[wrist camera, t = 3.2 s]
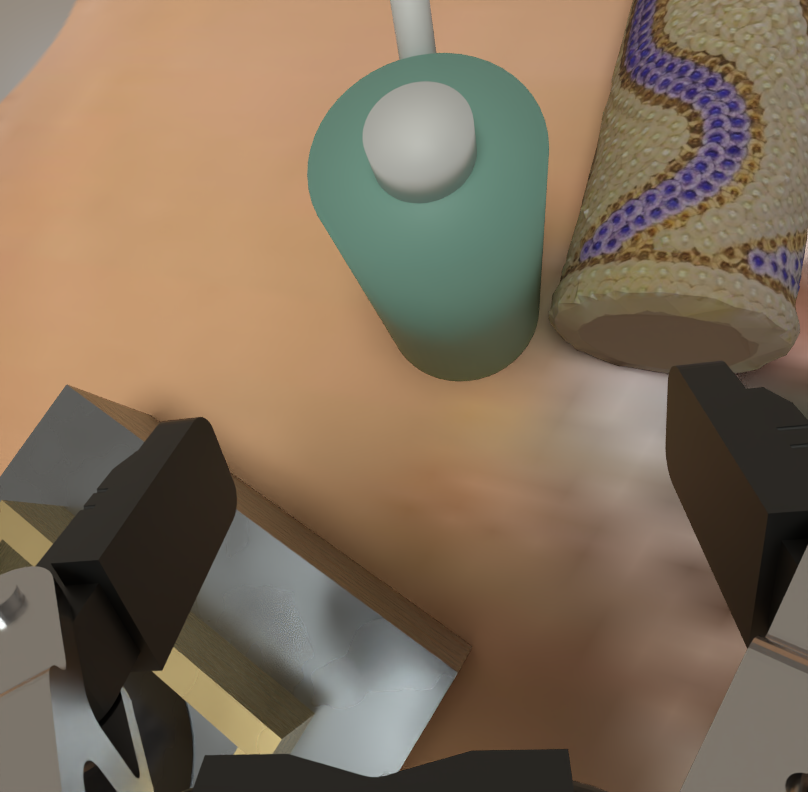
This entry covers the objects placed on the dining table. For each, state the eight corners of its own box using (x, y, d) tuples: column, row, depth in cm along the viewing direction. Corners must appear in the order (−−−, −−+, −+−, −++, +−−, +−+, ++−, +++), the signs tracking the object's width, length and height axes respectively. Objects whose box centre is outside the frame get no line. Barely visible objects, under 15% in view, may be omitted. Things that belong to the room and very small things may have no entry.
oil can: (547, 372, 24) (570, 205, 12) (393, 389, 24) (282, 249, 13) (522, 169, 26) (520, -128, 15) (381, 192, 27) (278, -69, 16)
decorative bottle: (751, 402, 22) (841, 340, 16) (541, 354, 24) (545, 282, 18) (864, -162, 27) (969, -384, 20) (680, -164, 29) (723, -369, 22)
